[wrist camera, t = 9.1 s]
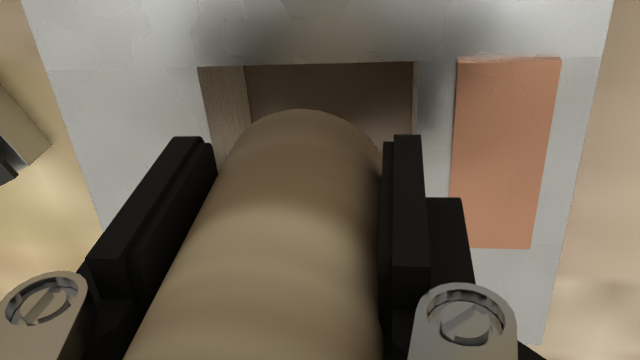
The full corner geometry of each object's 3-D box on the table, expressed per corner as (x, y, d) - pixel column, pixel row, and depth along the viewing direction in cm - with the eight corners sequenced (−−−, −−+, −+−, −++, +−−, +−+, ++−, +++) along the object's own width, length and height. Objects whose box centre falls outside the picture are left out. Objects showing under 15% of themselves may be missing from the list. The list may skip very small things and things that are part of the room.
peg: (214, 110, 11) (22, 406, 6) (387, 107, 11) (375, 430, 5) (239, 243, 13) (117, 568, 8) (388, 247, 13) (379, 596, 7)
